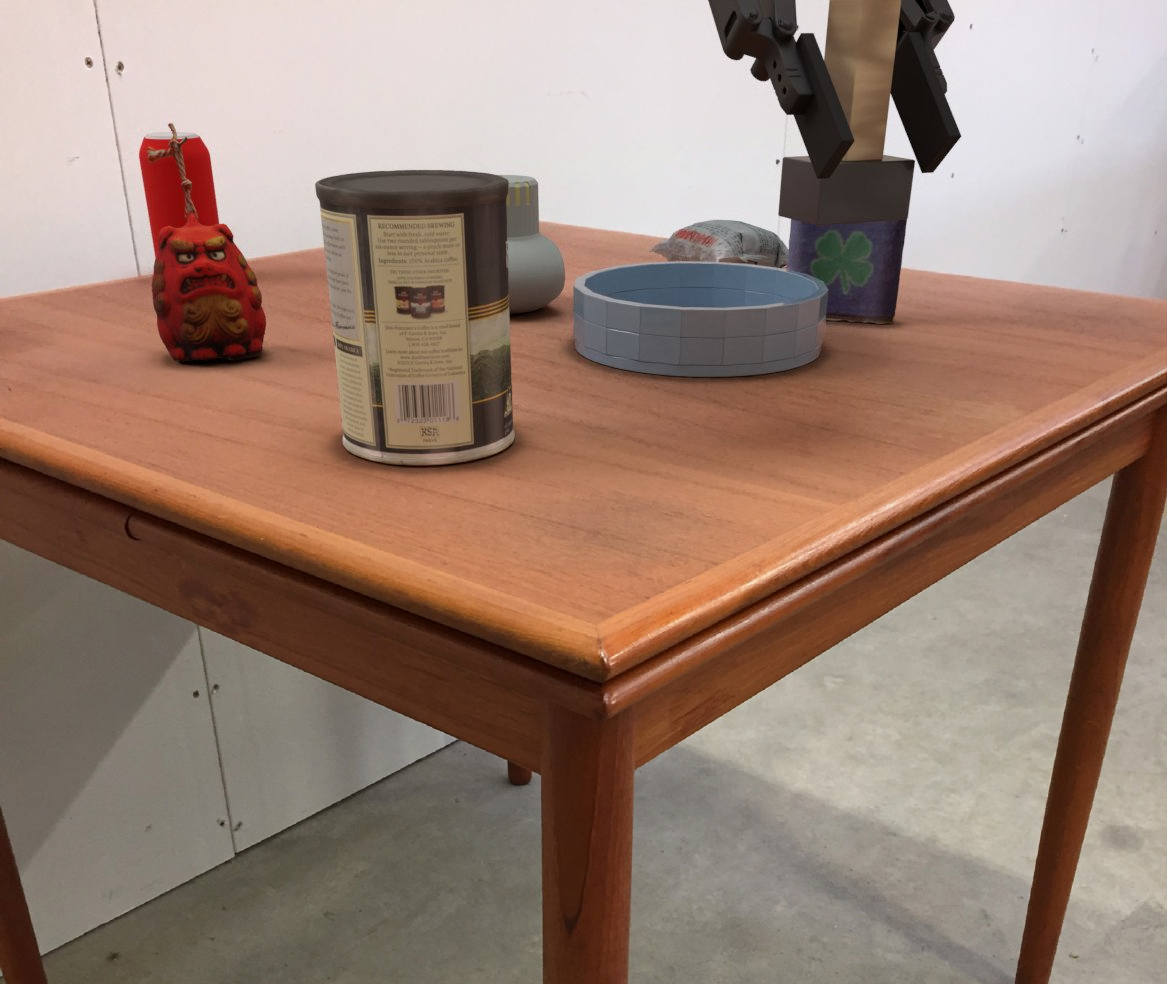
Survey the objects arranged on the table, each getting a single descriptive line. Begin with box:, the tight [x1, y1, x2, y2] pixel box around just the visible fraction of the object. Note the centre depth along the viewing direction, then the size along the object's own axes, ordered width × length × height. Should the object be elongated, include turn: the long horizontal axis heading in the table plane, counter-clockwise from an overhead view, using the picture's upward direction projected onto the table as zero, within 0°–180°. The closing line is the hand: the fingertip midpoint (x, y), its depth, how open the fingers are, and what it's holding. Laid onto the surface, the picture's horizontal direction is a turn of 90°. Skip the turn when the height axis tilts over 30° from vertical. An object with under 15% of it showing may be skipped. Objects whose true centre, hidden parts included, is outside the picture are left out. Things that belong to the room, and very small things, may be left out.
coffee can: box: [314, 169, 516, 466], centre depth 71 cm, size 10×10×14 cm
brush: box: [777, 0, 916, 226], centre depth 67 cm, size 6×4×13 cm, turn 114°
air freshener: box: [498, 174, 566, 315], centre depth 104 cm, size 11×8×10 cm
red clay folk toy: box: [147, 122, 267, 363], centre depth 89 cm, size 8×7×15 cm
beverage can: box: [138, 131, 220, 258], centre depth 115 cm, size 6×6×12 cm
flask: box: [785, 219, 908, 325], centre depth 102 cm, size 9×3×11 cm, turn 71°
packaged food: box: [648, 219, 789, 269], centre depth 118 cm, size 9×12×5 cm
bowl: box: [572, 261, 829, 378], centre depth 94 cm, size 19×19×4 cm
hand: (889, 156), depth 66 cm, fingers closed on brush, 6 cm apart
